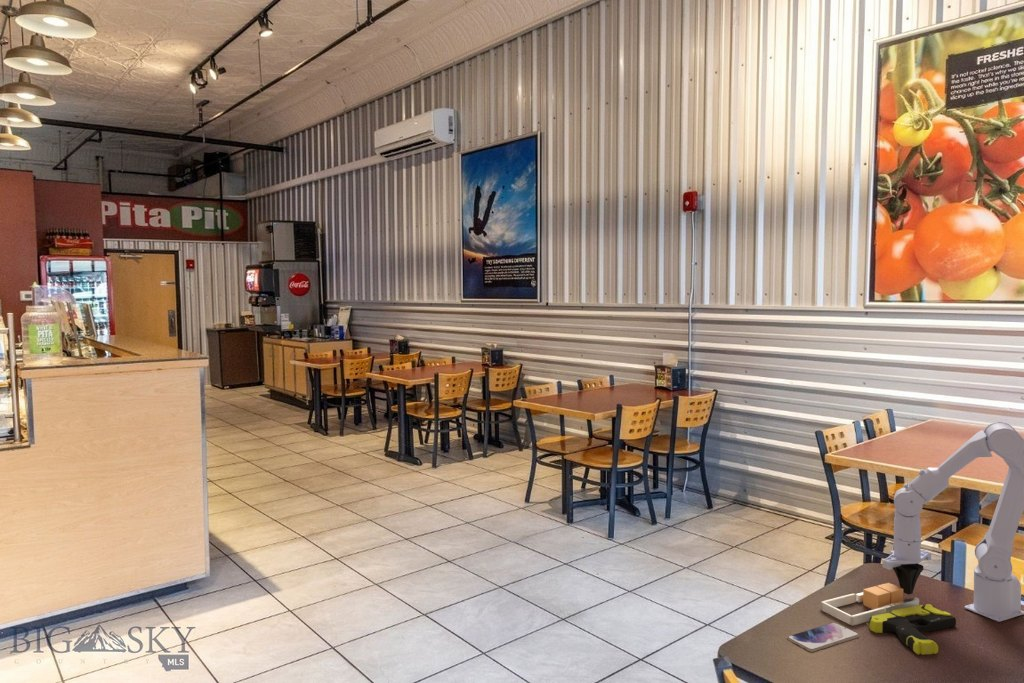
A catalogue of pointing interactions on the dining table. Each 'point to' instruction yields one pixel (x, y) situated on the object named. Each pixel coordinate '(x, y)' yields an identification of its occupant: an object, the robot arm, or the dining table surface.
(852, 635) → the smartphone
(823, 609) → the tray
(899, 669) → the dining table surface
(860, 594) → the rail channel
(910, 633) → the stun gun
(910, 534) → the robot arm
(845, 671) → the dining table surface
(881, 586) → the light orange cube
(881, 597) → the tan wooden cube
